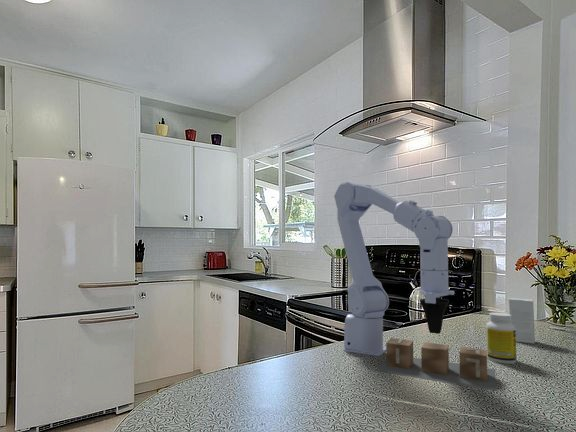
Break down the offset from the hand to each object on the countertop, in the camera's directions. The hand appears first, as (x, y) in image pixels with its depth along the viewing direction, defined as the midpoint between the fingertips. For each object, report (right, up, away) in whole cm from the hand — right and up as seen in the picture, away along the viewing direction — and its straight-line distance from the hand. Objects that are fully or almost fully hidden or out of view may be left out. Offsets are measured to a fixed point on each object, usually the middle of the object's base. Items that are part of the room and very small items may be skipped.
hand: (435, 332), depth 83 cm
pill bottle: (+19, -9, +8) cm, 22 cm away
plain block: (0, -8, 0) cm, 8 cm away
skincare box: (+36, -11, +27) cm, 46 cm away
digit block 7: (+7, -8, -4) cm, 11 cm away
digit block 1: (-7, -8, +3) cm, 11 cm away
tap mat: (0, -8, -1) cm, 8 cm away
